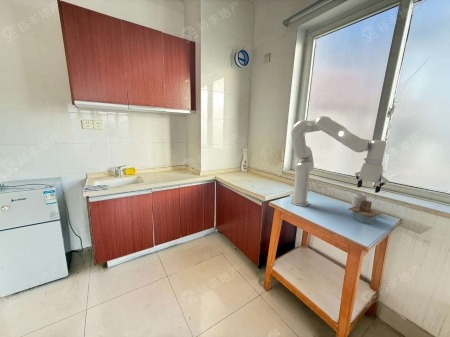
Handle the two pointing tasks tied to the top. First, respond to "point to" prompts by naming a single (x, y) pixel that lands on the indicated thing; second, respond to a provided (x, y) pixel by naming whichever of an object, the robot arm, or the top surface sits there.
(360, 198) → the can
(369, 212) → the lid
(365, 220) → the bowl
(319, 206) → the top surface
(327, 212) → the top surface
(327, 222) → the top surface
